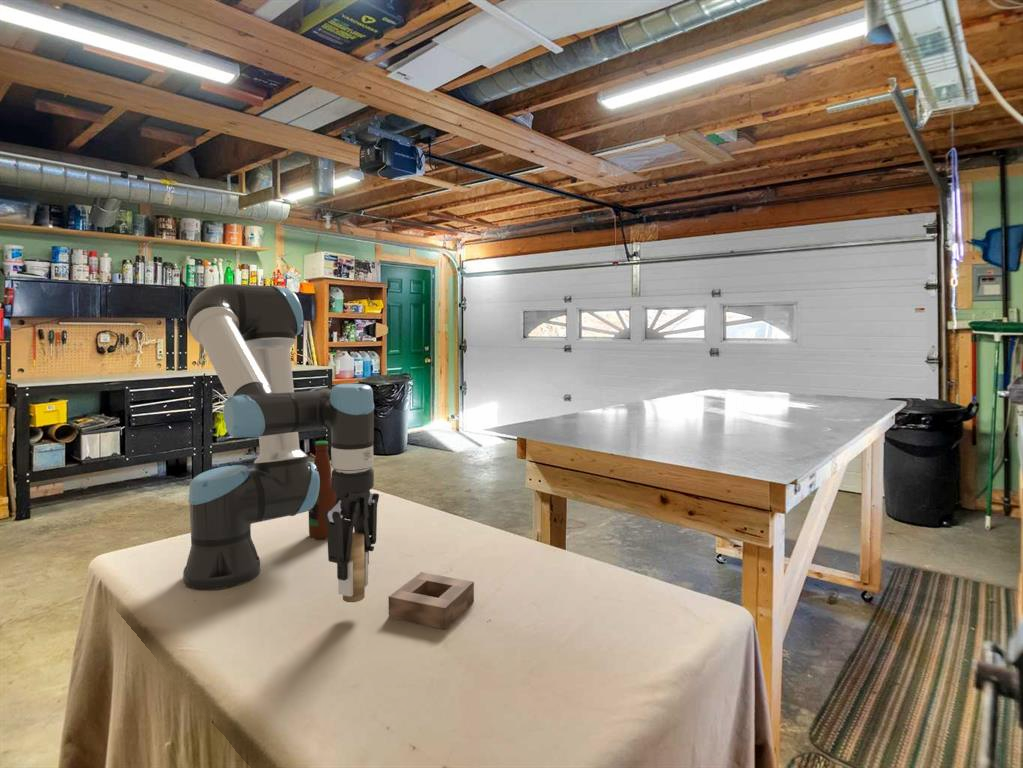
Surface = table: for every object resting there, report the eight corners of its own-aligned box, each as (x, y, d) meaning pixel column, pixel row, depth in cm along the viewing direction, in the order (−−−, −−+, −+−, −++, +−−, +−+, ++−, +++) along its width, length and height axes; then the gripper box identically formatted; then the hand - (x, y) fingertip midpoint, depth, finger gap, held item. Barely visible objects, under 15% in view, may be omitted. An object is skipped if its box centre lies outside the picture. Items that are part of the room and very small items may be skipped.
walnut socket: (388, 617, 109) (388, 596, 109) (421, 590, 120) (421, 572, 120) (445, 629, 105) (445, 608, 104) (473, 601, 116) (473, 581, 116)
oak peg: (338, 599, 109) (337, 538, 107) (351, 590, 112) (351, 531, 111) (355, 604, 107) (355, 541, 106) (368, 594, 111) (368, 534, 110)
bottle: (317, 530, 157) (314, 438, 154) (342, 531, 156) (341, 439, 153) (303, 539, 149) (301, 443, 147) (330, 541, 148) (328, 444, 146)
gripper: (339, 482, 98) (341, 613, 100) (395, 460, 114) (395, 574, 116) (304, 476, 101) (306, 605, 103) (363, 456, 116) (364, 568, 119)
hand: (353, 588), depth 110 cm, fingers closed on oak peg, 4 cm apart
